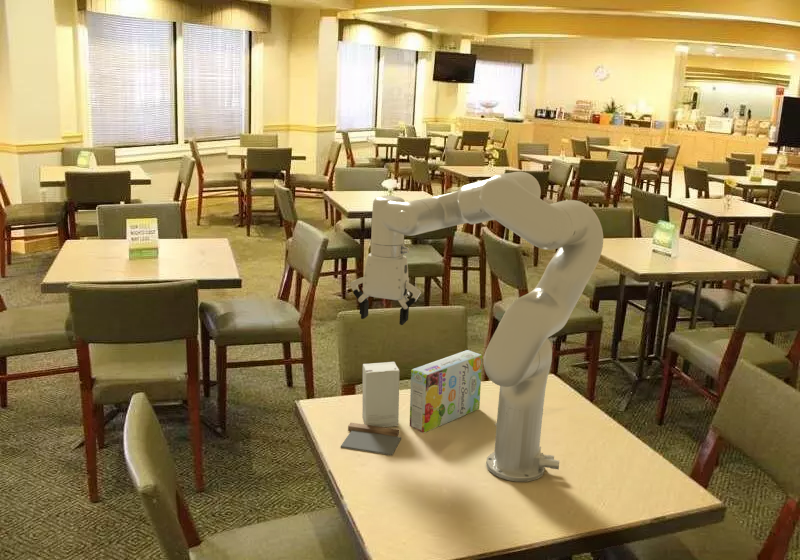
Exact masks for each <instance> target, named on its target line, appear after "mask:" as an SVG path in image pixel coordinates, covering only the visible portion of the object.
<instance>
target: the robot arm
mask: <svg viewBox="0 0 800 560" xmlns="http://www.w3.org/2000/svg"><path fill="white" fill-rule="evenodd" d="M541 192H542V191H541V186H540V184H539V181H538V180H537V178H535V176H533V175H532V174H530V173H529V172H524V171H513V172H505V173H500V174H496V175H494V176H492V177H490V178H486V179H483V180H478V181H474V182H471V183H468V184H464V185H462V186H461V187H460V188H459V190H456V191H453V192H450V193H445V194H441V195H437V196H432V197H427V198H420V199H414V200H409V201H405V200H404V199H403V198H402V197H399V196H393V195H380V196H377V197H375V198H374V200H373V202H372V213H371V215H372V216H371V237H370V238H371V239H370V253H368V254H367V258H366V261H365V266H364V272H363V277H359V278H357V279H355V280H352V281H351V282H349V285H350V288H351V290H352V291H353V295H354V296H355V297H356V299H357V301H358V302H359V315H360V319H361V320H365V319H366V318H367V317H368V316H369V308H370V307H369V305H370V304H369V303H370V302H369V299H368V298H369V297H371V298H372V297H373V298H377V299H378V298H379V299H385V300H392V301H398V303H399V305H400V306H401V308H400V310H399V312H400V313H399V325H400V326H403V325H404V324H406V323H407V322H408V321H409V316H410V315H409V313H410V307H411V306H412V305H413V304H415V303H416V302H417V301H418V298H419V297H420V295H421V294H422V291H421V290H420V288H418V287H416V286H414V285H413V284H412V283H410V282H409V267H408V265H409V264H408V259H407V256H406V255H404V254H409V253H410V248H409V247H407V246H405V236H408V237H409V236H410V237H411V236H416V235H421V234H425V233H429V232H434V231H438V230H441V229H445V228H451V227H454V226H459V225H464V224H469V225H476V224H481V223H484V222H489V221H490V222H491V221H493V220H495V221H496V222H498V223H499V224H500V225H502V226H503V227H505V228H506V229H507V230H509V231H511V232H512V233H514V234H515V235H517V236H519V237H520V238H521V239H523V240H524V241H526V242H527V243H529V244H530V245H532V246H533V247H537V248H539V249H542V250H546V251H549V250H551V251H552V250H556V249H557V250H556V252H555V253H554V255H553V256H552V258H551V259H550V261H549V263H548V264H547V265H546V267H545V269H544V272H543V274H542V276H541V277H540V280H539V281H538V282H537V284H536V286H535V287H534V289H533V290H531V291H530V292H528V293H526V294H524V295H522V296H519V297H518V298H516V299H515V300H514V301H513V302H511V304H510V305H509V306H508V307H507V309H506V310H505V312H504V314H503V316H502V318H501V319H500V321H499V323H498V324H497V327H496V329H495V331H494V333H493V335H492V336H491V338H490V341H489V343H488V345H487V348H486V349H485V352H484V356H483V369H484V373H485V374H486V376H487V378H488V379H489V380H490V381H491V382H492V383H493V384H495V385H497V386H499V392H498V393H499V394H498V402H497V403H498V404H497V405H498V406H497V415H496V417H497V418H496V423H497V427H496V426H495V427H496V429H495V440H494V441H495V442H494V451H493V452H492V453H490V454H489V455H488V456H487V457H486V464H485V466H486V468H487V469H488V470H489V472H490V473H491V474H493V475H494V476H496V477H498V478H500V479H503V480H507V481H509V482H518V483H519V482H525V483H526V482H531V481H535V480H537V479H540V478H541V477H542V476H543V475H544V474H545V468H547V469H553V470H559V469H560V460H558V459H555V455H553V454H544V452H542V446H540V445H541V437H542V436H541V435H542V425H543V414H544V405H545V397H546V388H547V382H548V377H549V373H550V371H551V364H552V359H553V349H552V348H553V347H552V343H551V342H550V339H549V337H552V336H553V335H555V334H556V333H558V332H560V331H561V330H562V329H563V328H564V327H565V326H566V324H567V323H568V320H569V319H570V317H571V315H572V312H573V311H574V309H575V307H576V306H577V303H578V301H579V300H580V298H581V296H582V295H583V292H584V290H585V288H586V286H587V285H588V283H589V281H590V279H591V277H592V275H593V273H594V271H595V269H596V267H597V265H598V263H599V261H600V259H601V255H602V251H603V247H604V233H603V231H604V230H603V227H602V224H601V222H600V221H601V220H600V219H599V217H598V215H597V214H596V213H595V211H594V210H593V208H591V207H590V206H589V204H587V203H584V202H583V201H580V200H577V199H576V200H574V199H565V200H559V201H558V202H554V203H553V202H552V203H548V202H547V201H545V200H543V199H541ZM361 284H362V290H361V289H360V288H359V285H361ZM409 292H410V293H412V296H411V297H410V299H409V298H408V297H407V295H408V293H409Z"/></svg>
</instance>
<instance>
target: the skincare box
mask: <svg viewBox="0 0 800 560" xmlns="http://www.w3.org/2000/svg"><path fill="white" fill-rule="evenodd" d="M400 372H401V371H400V369H399V367H398V366H397V364H396V362H395V361H386V362H373V363H363V364H362V413H361V414H362V420H363V423H364V425H371V426H378V427H385V428H391V427H399V410H400V407H399V406H400V405H399V404H400Z"/></svg>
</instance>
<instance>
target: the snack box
mask: <svg viewBox="0 0 800 560" xmlns="http://www.w3.org/2000/svg"><path fill="white" fill-rule="evenodd" d="M482 362H483V354H481V353H478V352H475V351H472V350H468V349H466V350H464V351H460V352H457V353H455V354H452V355H449V356H446V357H444V358H440V359H437V360H435V361H432V362H429V363H426V364H423V365H420V366H417V367H415V368H412V369H411V370H410V396H409V397H410V400H409V401H410V402H409V403H410V404H409V405H410V406H409V427H410V428H413V429H416V430H417V431H419V432H422V433H424V434H425V433H427V432H429V431H431V430H434V429H436V428H438V427H441V426H444V425H445V424H447V423H450V422H452V421H454V420H457V419H459V418H461V417H463V416H466V415H468V414H471V413H473V412H475V411H477V410H480V404H481V402H480V401H481V385H482V384H481V383H482V366H483V363H482Z"/></svg>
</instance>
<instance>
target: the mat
mask: <svg viewBox="0 0 800 560" xmlns="http://www.w3.org/2000/svg"><path fill="white" fill-rule="evenodd" d="M400 441H402V437H401V436H398V437H396V436H390V435H383V434H376V433H370V432H363V431H356V430H352V431H349V434H348V435H347V436H346V437H345V439H344V441H343V442H342V444H341V445H340V448H341V449H342V448H343V449H349V450H356V451H360V452H361V451H362V452H368V453H374V454H381V455H387V456H393V455H394V453H395V451H396V449H397V447H398V445H399V444H400Z"/></svg>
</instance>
